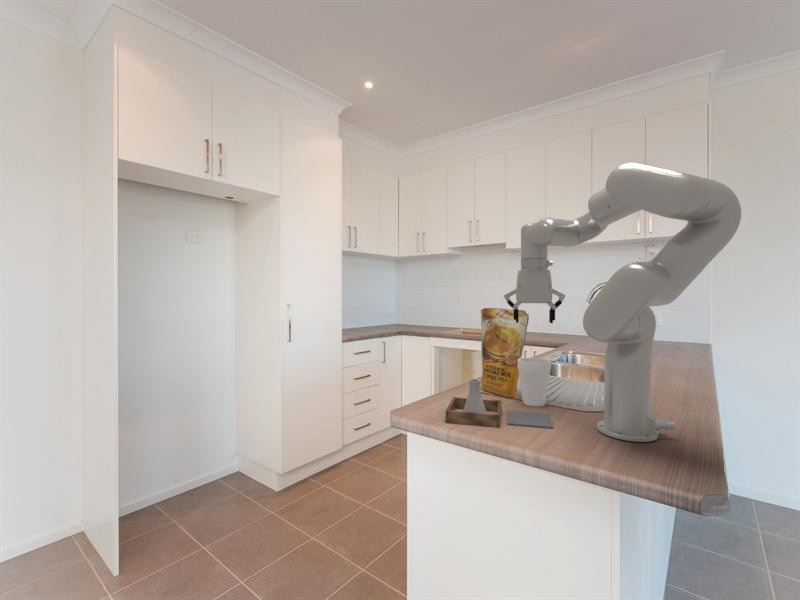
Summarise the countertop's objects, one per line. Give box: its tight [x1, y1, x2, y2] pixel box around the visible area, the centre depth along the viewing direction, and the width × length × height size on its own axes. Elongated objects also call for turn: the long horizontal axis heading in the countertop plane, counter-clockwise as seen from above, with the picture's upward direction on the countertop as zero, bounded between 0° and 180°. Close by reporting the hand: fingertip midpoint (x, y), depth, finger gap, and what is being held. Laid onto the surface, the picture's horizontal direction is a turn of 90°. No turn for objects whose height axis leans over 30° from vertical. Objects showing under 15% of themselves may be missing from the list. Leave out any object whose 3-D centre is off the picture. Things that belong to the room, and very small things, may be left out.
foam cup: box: [518, 357, 552, 407], centre depth 118 cm, size 10×9×13 cm
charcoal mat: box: [506, 410, 554, 429], centre depth 103 cm, size 11×11×1 cm
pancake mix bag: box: [480, 307, 530, 399], centre depth 130 cm, size 7×19×28 cm, turn 31°
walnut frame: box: [445, 396, 502, 428], centre depth 106 cm, size 14×14×3 cm
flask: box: [462, 378, 488, 413], centre depth 106 cm, size 7×7×10 cm
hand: (533, 322), depth 118 cm, fingers open, 9 cm apart
